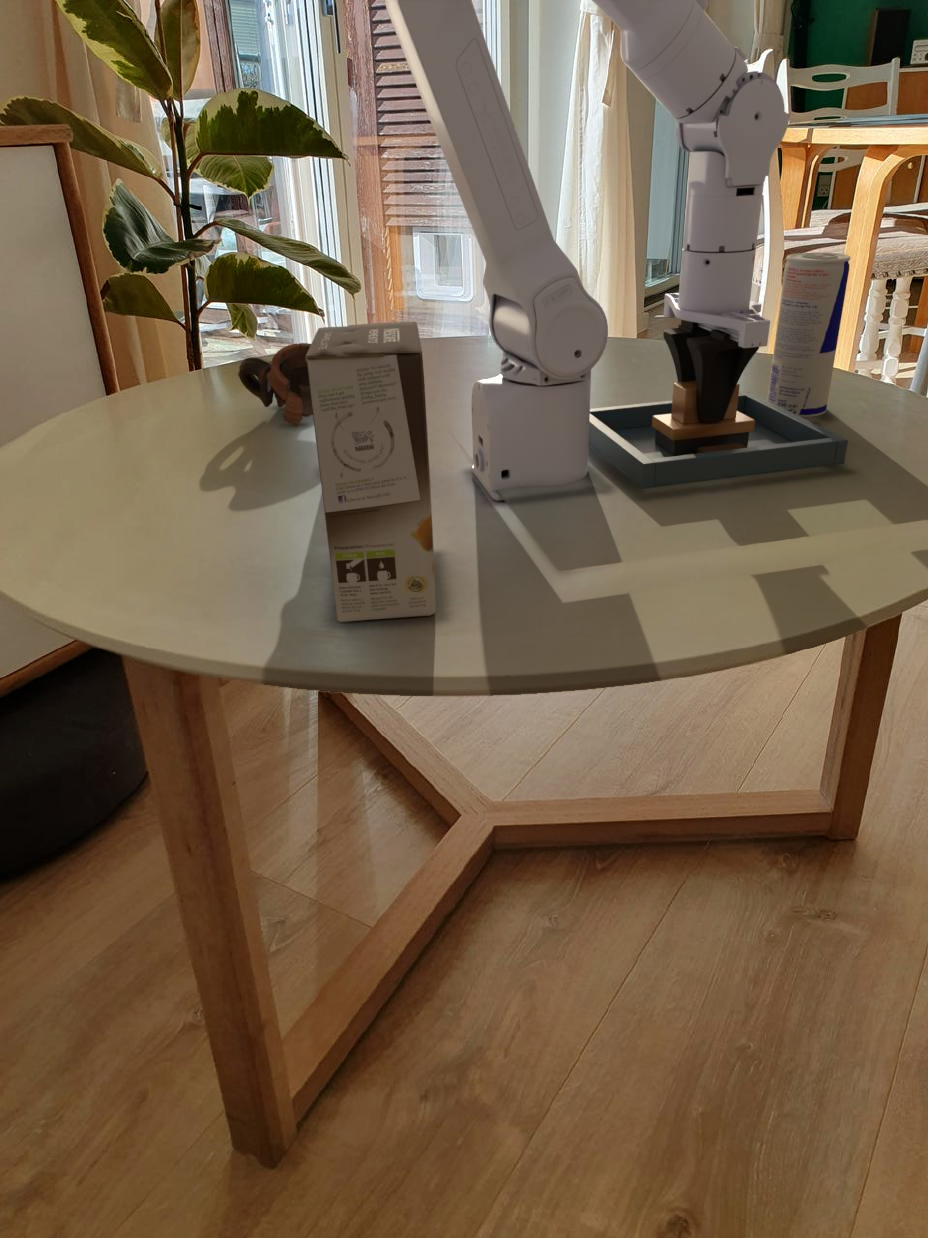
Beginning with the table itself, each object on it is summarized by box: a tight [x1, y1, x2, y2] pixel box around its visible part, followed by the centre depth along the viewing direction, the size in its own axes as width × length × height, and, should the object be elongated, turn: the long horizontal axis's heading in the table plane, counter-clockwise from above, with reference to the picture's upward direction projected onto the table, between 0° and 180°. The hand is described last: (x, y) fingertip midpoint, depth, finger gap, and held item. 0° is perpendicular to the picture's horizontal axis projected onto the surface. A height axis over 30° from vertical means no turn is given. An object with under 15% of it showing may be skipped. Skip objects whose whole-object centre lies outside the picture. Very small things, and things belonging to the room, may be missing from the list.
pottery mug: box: [237, 342, 313, 427], centre depth 93 cm, size 12×10×8 cm
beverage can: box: [766, 252, 851, 418], centre depth 84 cm, size 6×6×15 cm
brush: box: [652, 381, 755, 456], centre depth 77 cm, size 8×4×6 cm, turn 103°
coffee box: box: [305, 321, 437, 623], centre depth 54 cm, size 9×6×16 cm
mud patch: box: [697, 443, 748, 454], centre depth 74 cm, size 4×4×1 cm
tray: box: [589, 391, 849, 490], centre depth 78 cm, size 18×16×3 cm
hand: (702, 415), depth 77 cm, fingers closed on brush, 2 cm apart
